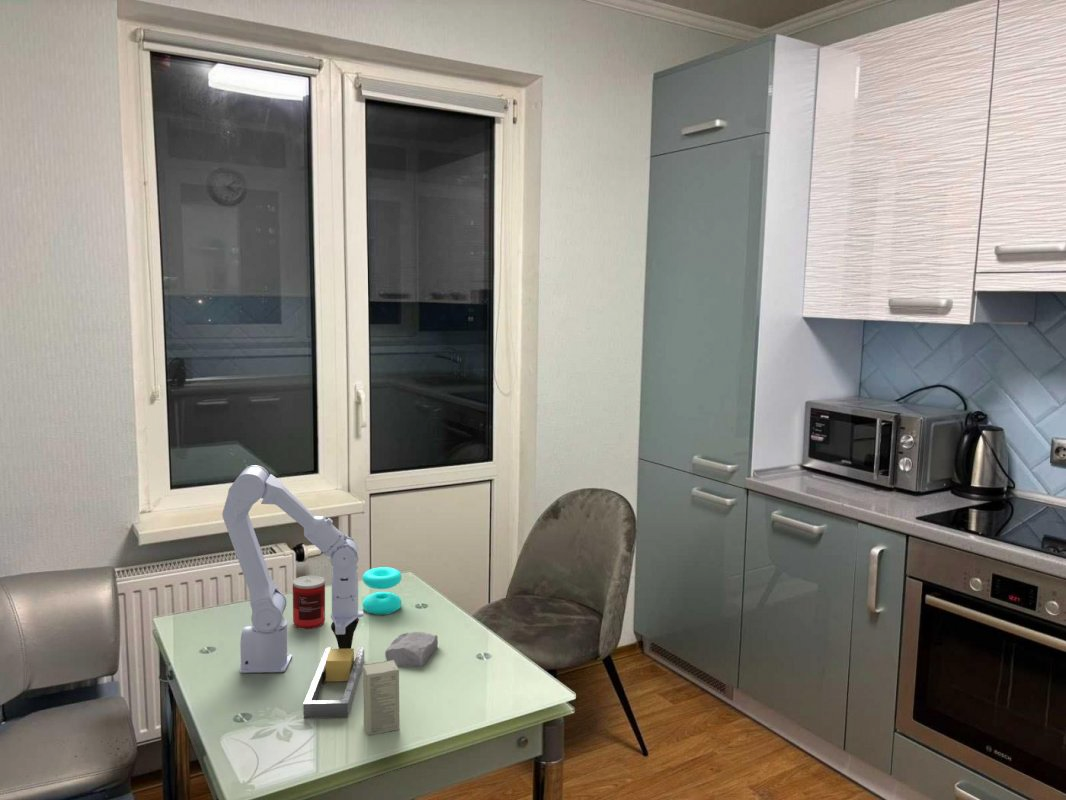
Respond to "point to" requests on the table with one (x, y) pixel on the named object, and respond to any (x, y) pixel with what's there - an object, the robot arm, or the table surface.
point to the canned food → (308, 601)
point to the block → (339, 664)
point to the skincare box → (381, 697)
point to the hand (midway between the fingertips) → (345, 652)
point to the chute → (332, 707)
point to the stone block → (412, 648)
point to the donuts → (382, 600)
